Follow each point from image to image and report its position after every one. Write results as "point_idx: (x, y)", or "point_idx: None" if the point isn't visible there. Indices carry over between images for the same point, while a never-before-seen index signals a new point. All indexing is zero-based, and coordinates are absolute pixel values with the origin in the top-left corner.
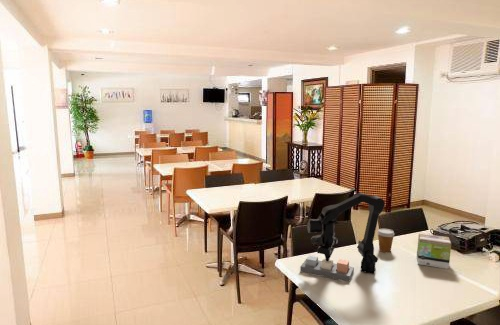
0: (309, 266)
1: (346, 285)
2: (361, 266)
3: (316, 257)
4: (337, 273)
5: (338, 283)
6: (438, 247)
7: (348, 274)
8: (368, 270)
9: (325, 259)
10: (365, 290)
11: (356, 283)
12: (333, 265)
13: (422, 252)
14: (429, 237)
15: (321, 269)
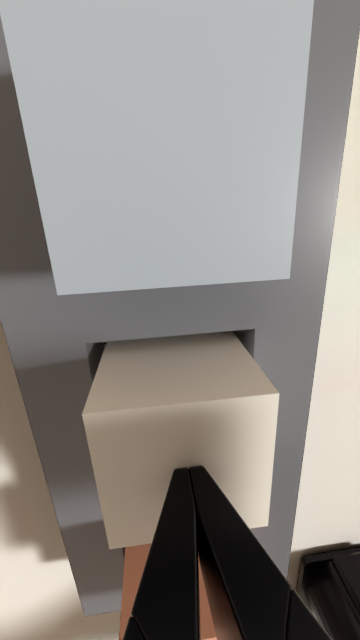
0: (31, 173)
1: (25, 554)
2: (344, 584)
3: (255, 251)
4: (69, 538)
5: (15, 508)
6: None
7: (112, 601)
8: (309, 605)
9: (232, 437)
10: (42, 637)
11: None
12: None
13: None
14: None
15: (51, 378)
